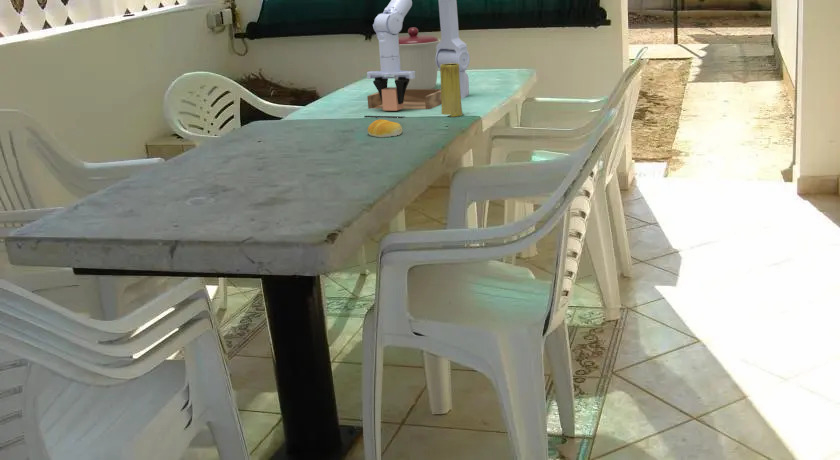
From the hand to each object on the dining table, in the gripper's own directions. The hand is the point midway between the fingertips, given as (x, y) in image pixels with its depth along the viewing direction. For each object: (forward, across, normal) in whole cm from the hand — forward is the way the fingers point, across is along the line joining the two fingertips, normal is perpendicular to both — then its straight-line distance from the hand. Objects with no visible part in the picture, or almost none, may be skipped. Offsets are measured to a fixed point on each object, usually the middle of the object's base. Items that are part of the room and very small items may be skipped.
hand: (392, 103), depth 257 cm
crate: (+3, 0, +10) cm, 11 cm away
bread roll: (+3, +12, -30) cm, 32 cm away
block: (+2, 0, 0) cm, 2 cm away
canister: (+3, -12, +44) cm, 45 cm away
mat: (+3, 0, -2) cm, 4 cm away
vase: (+3, +19, -2) cm, 19 cm away
